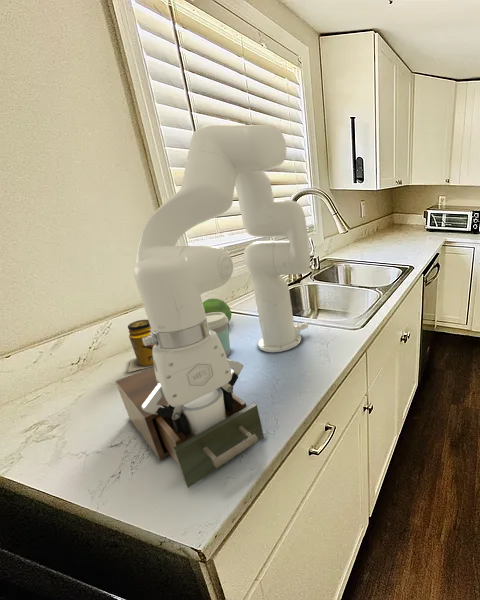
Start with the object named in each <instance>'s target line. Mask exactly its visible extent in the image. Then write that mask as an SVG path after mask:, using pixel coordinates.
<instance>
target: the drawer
mask: <svg viewBox="0 0 480 600" xmlns="http://www.w3.org/2000/svg"><path fill="white" fill-rule="evenodd" d="M232 397H233V401H234V403H233V404H232V407H233V411H231V412H228V411H227V410H226V409H225V414H226V419H224V420H222V421H220V422H219V423H217V424H215V425H213V426H211V427H210V428H208V429H206V430H204V431H202V432H201V433H199V434H197V435H195V436H192V434H191V432H190V433H189V435H187V436H185V435H184V434H183V433H182V431H180V432H177V431H176V429H175V427H174V424H173V421H172V418H168V417H163V416H157V417H155V418H153V419H152V421H153V424H154V426H155V429H156V432H157V435H158V437H159V440H160V442H161V443H162V445H163V446H164V447H165V448H166V450H167V451H168V452H169V453H170V455H169V456H171V457H172V459H173V460H174V461H175V462H176V464H177V465H178V468H179V471H180V474H181V476H182V480H183V482H184V485H185V486H186V488H191V487H192V486H193V485H195V484H196V483H198V482H199V481H201V480H203V479H204V478H205V477H207V476H209V475H210V474H212V473H213V472H215V471H216V470H218V469H219V468H221V467H222V466H225V464H226V463H228V462H230V461H231V460H233V459H234V458H236V457H238V456H240V455H241V454H242V453H243V452H245V451H247V450H248V449H250V448H251V447H253V446H255V445H256V444H257V443H259V442H260V441H262V440H263V439H265V437H264V431H263V427H262V426H263V425H262V422H261V421H262V420H261V417H260V413H259V408H258V407H259V406H258V405H257V404H256V403H255V402H253V403H251V404H249V405H247V403H246V402H245V401H244V400H242V399H241V398H240V397H239V396H238V395H236V394H235V393H234V392H233V393H232ZM189 431H190V430H189Z"/></svg>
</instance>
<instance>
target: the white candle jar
mask: <svg viewBox="0 0 480 600" xmlns="http://www.w3.org/2000/svg"><path fill="white" fill-rule="evenodd" d="M181 413H182V414H183V415H184V416H185V418H186V421H187V424H188V427H189V430H190V432H191V434H192V436H195V435H197V434H199V433H201V432H202V431H204V430H206V429H208V428H210V427H211V426H213V425H215V424H217V423H219V422H220V421H222V420H224V419H226V414H225V406H224V398H223V392H222V390H221V388H218V389H216V390H214V391H212V392H210V393H208V394H206V395H204V396H202V397H200V398H197V399H195V400H193V401H191V402H189V403H187V404H184V405H183V408H182V412H181Z"/></svg>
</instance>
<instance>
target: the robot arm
mask: <svg viewBox="0 0 480 600" xmlns="http://www.w3.org/2000/svg"><path fill="white" fill-rule="evenodd" d="M187 152H188V153H187V157H186V163H185V167H184V172H183V177H182V181H181V186H180V189H179V190H178V191H177V192H176V193H174V194H173V195H172V196H171V197H169V198H168V199H167V200H166V201H164V202H163V203H162V204H161V205H160V206H159V207H158V208H157V209H156V210H155V211H154V212H153V213H152V214H151V216H149V217H148V219H147V221H146V222H145V224H144V226H143V228H142V230H141V232H140V233H141V234H140V237H139V242H138V246H137V251H136V256H135V265H134V267H133V277H134V280H135V284H136V286H137V290H138V293H139V296H140V298H141V302H142V306H143V308H144V311H145V314H146V317H147V320H149V324H150V327H151V329H150V331H151V333H150V335H148V336H147V337H144V338H142V341H143V343H144V345H145V346H148V345H153V344H154V346H153V364H154V366H153V367H154V370H155V375H156V380H157V384H158V385H157V386H156V387H155V389H154V390H153V391H152V393H151V394H150V395H149V397H148V398H147V399H146V400H145V402H144V403H143V404H142V406H141V408H142V409H143V410H144V411H145V412H148V413H152V414H157V415H159V416H163V417H168V418H172V421H173V424H174V427H175V429H176V431H177V432H180V431H182V433H183V434H184V435H185V436H187V435H189V433H190V431H189V427H188V424H187V421H186V418H185V416H184V415H183V414H182V413H181V412H182V408H183V405H184V404H187V403H189V402H191V401H193V400H195V399H197V398H200V397H202V396H204V395H206V394H208V393H210V392H212V391H214V390H216V389H218V388H221V390H222V392H223V398H224V406H225V409H226V410H227V411H228V412H231V411H233V407H232V404H233V403H234V401H233V397H232V391H233V392H234V386H235V384H236V382H238V381H237V380H238V379H239V375H240V374H241V372H242V370H243V368H244V364H243V363H242V362H239V361H237V360H233V359H229V358H228V356H226V354H225V352H224V349H223V347H222V344H221V342H220V340H219V338H218V336H217V334H216V332H215V331H212V330H210V329H209V326H208V322H207V318H206V314H205V310H204V306H203V302H204V301H203V299H202V295H203V294H205V293H207V292H209V291H210V292H211V291H214V290H217V289H219V288H221V287H223V286H224V285H226V284H227V283H228V282H229V281H230V279H231V278H232V275H233V272H234V263H233V260H232V257H231V256H230V254H229V253H228V252H227V251H226V250H225V249H223V248H221V247H218V246H215V245H177V243H178V242H179V240H180V239H181V237H182V236H183V235H184V234H185V233H186V232H188V231H189V230H191V229H192V228H194V227H196V226H198V225H200V224H202V223H205V222H207V221H209V220H211V219H214V218H217V217H218V216H220V215H223V214H224V213H225V212H227V211H229V210H230V209H231V208H232V205H233V202H234V194H235V191H236V195H237V199H238V206H239V210H240V215H241V219H242V224H243V228H244V231H246V233H247V234H248V235H249V236H251V237H255V238H256V237H257V238H274V237H275V238H281V237H282V238H284V237H286V238H287V239H288V240H259V241H254V242H251V243H249V244H248V245H246V247H245V249H244V252H243V260H244V264H245V266H246V269H247V272H248V274H249V277H250V280H251V284H252V288H253V291H254V292H253V293H254V298H255V303H256V309H257V314H258V320H259V326H260V331H261V336H262V337H260V339H259V340H258V343H257V345H258V349H259V350H261V351H263V352H266V353H281V352H285V351H289V350H291V349H294V348H295V347H297V346H298V345H299V344H300V343H301V342H302V335H301V333H300V332H301V331H303V330H305V329H307V328H309V324H308V322H307V321H305V322H302V323H300V322H299V321H298V322H295V321H294V315H293V308H292V307H293V306H292V301H291V293H290V287H289V284H288V283H287V282H286V280H285V279H284V278H283V277H282V276H287V275H288V276H291V275H303V274H306V273H307V272H308V271H309V270H310V268H311V251H310V244H309V243H310V242H309V236H308V230H307V229H308V227H307V222H306V216H305V212H304V210H303V207H302V206H301V204H300V203H299V202H297V201H295V200H291V199H277V200H276V199H275V198H274V194H273V189H272V182H271V179H270V178H269V175H268V174H267V173H266V172H265V171H269V170H273V169H275V168H277V167H279V166H281V165H282V164H283V163H284V162H285V160H286V156H287V143H286V140H285V136H284V135H283V132H282V131H281V130H280V129H279V128H278V127H277V126H276V125H272V124H210V125H203V126H201V127H198V128H197V129H196V130H194V132H193V133H192V135H191V138H190V142H189V147H188V151H187ZM162 397H164V398H165V399H166V401H167V402H168V405H167V406H164V405H157V403H158V402H159V400H160V399H161V398H162Z"/></svg>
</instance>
